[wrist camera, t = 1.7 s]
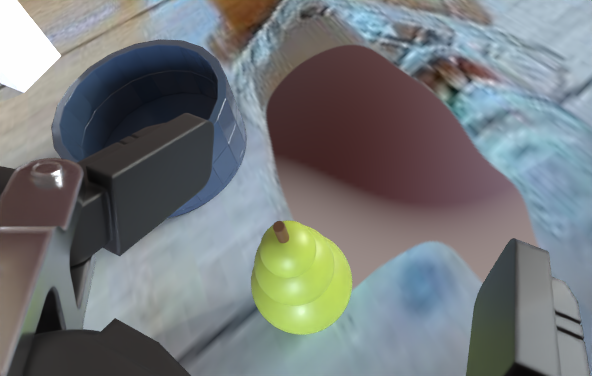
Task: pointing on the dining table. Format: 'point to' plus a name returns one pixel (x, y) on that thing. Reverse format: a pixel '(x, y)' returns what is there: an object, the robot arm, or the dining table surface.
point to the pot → (152, 105)
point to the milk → (22, 48)
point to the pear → (300, 279)
